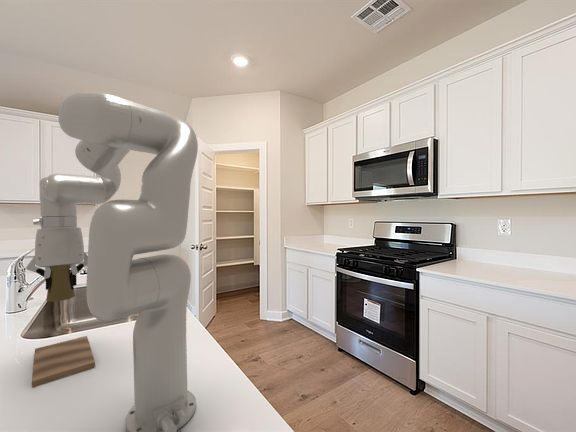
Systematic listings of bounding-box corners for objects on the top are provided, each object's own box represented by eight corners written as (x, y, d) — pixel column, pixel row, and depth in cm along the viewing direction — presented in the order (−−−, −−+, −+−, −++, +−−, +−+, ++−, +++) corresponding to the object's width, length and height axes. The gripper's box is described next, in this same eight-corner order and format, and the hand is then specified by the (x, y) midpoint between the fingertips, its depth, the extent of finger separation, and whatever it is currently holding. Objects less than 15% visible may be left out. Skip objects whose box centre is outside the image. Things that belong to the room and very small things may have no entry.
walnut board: (95, 367, 71) (94, 361, 71) (31, 387, 63) (31, 381, 63) (87, 340, 86) (86, 335, 86) (35, 353, 79) (35, 348, 79)
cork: (58, 302, 72) (57, 260, 71) (40, 300, 73) (38, 259, 72) (80, 295, 77) (79, 256, 77) (63, 293, 79) (61, 255, 78)
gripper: (15, 225, 66) (17, 300, 67) (98, 222, 77) (100, 287, 78) (17, 224, 72) (20, 293, 73) (94, 221, 83) (96, 282, 83)
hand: (61, 289), depth 75 cm, fingers closed on cork, 3 cm apart
